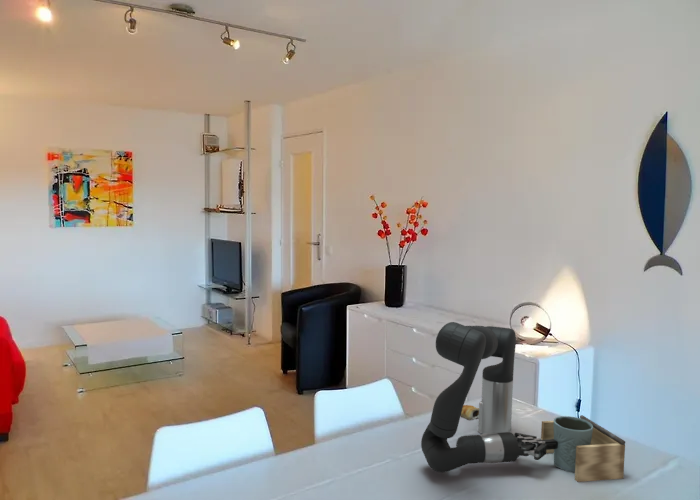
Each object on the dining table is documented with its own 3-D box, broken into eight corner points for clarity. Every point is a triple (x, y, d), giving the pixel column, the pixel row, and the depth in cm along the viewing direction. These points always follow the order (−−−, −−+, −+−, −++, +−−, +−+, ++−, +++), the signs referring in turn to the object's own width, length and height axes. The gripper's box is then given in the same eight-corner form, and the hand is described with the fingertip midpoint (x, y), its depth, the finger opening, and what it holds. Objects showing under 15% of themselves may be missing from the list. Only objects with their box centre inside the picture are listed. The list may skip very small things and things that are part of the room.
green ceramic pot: (563, 454, 161) (565, 413, 161) (598, 467, 154) (600, 424, 153) (544, 464, 155) (546, 421, 154) (578, 477, 147) (581, 432, 146)
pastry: (449, 413, 194) (449, 402, 194) (463, 409, 198) (463, 398, 197) (469, 421, 186) (470, 410, 186) (483, 418, 190) (484, 406, 190)
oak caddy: (577, 481, 145) (579, 443, 144) (540, 451, 163) (541, 417, 162) (623, 478, 147) (625, 440, 147) (581, 449, 165) (583, 415, 165)
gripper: (508, 444, 143) (570, 440, 147) (486, 424, 156) (544, 421, 160) (507, 472, 144) (569, 468, 147) (485, 451, 157) (543, 447, 160)
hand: (556, 443), depth 153 cm, fingers closed
